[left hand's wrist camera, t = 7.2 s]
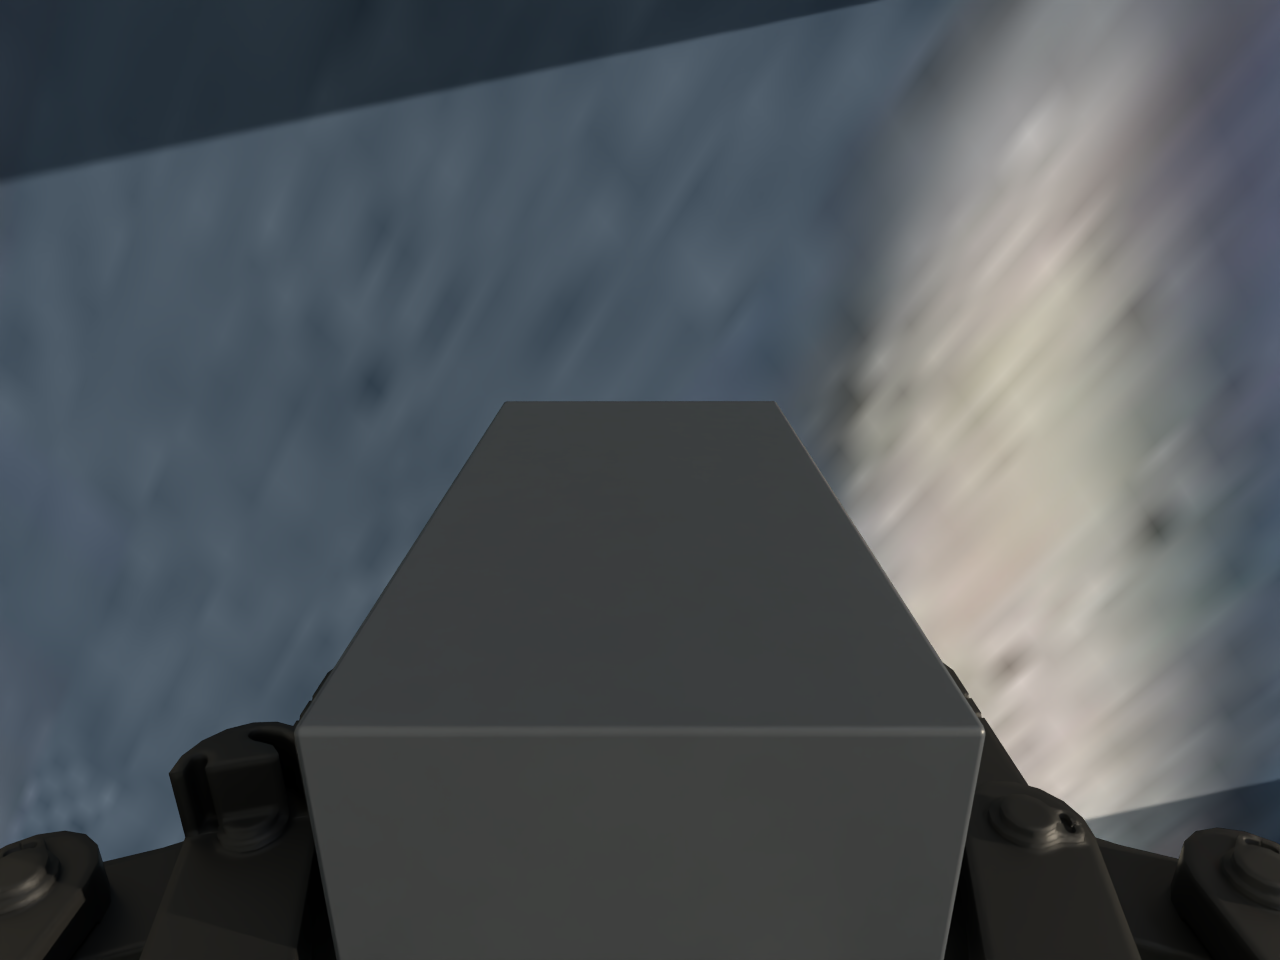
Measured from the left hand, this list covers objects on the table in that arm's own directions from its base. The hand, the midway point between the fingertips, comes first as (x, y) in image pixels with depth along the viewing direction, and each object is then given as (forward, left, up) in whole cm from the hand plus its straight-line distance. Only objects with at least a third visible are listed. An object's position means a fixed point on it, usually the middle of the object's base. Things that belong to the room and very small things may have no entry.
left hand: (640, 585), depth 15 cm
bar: (+7, +4, -1) cm, 8 cm away
